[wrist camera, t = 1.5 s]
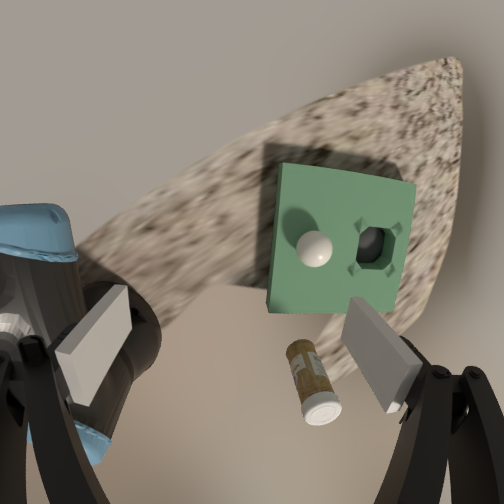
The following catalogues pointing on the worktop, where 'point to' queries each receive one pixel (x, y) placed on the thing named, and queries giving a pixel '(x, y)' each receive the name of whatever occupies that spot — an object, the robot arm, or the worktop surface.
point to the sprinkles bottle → (312, 384)
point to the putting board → (338, 239)
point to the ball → (314, 248)
